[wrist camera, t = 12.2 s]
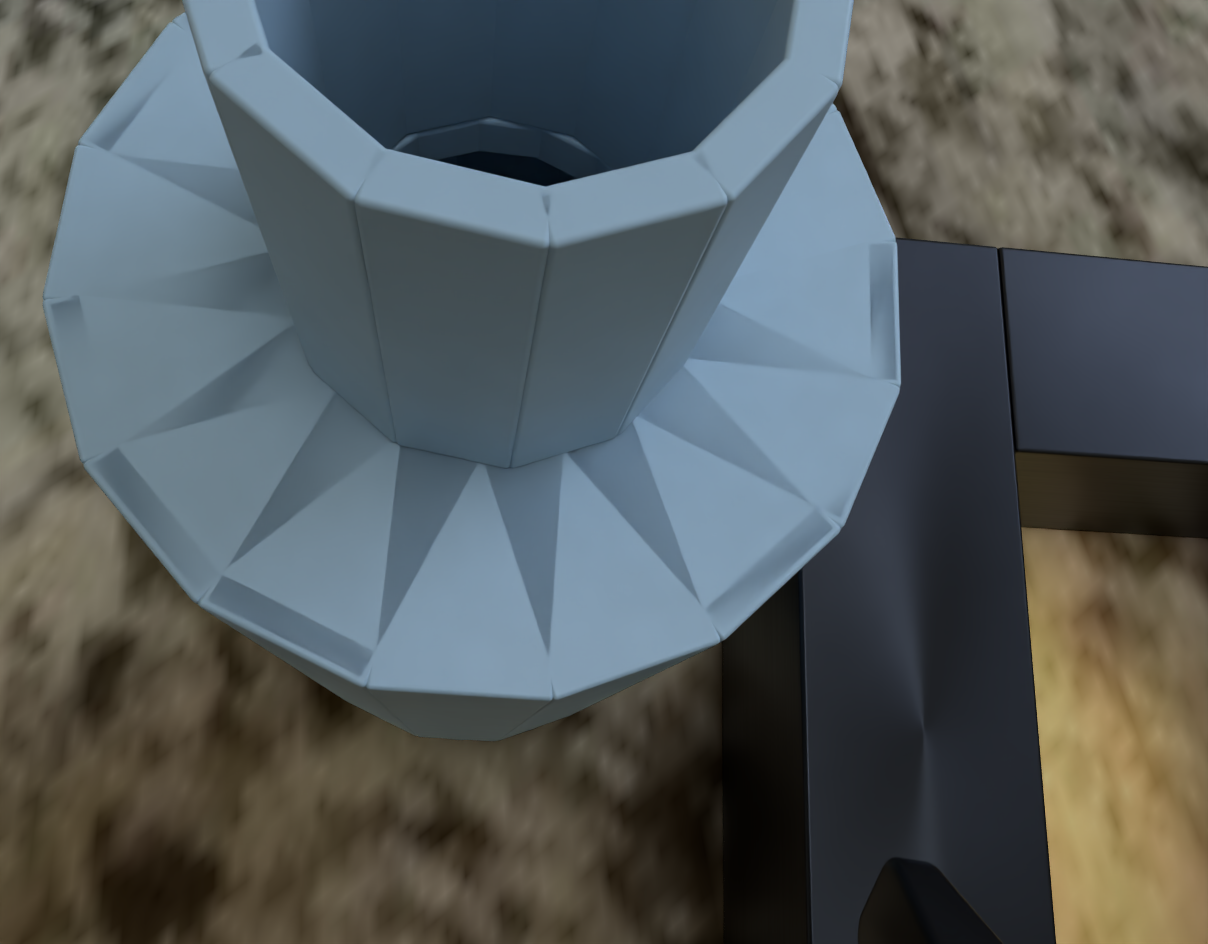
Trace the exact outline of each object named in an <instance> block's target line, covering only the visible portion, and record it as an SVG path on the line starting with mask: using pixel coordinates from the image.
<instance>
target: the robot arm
mask: <svg viewBox="0 0 1208 944" xmlns="http://www.w3.org/2000/svg"><path fill="white" fill-rule="evenodd" d="M858 944H1003V943H1002V941H1001V940H1000V939H999V938H998V937H997V936H996V934H995V933H994V932H993V931H992V930H991V929H990V927H989V926H988V925H987V924H986V923H985V922H984V921H983V919H982V918H981V917H980V916H979V915H978V914H977V912H976V911H975V910H974V909H973V908H972V907H971V905H970V904H969V903H968V902H967V901H966V900H965V898H964V897H963V896H962V895H961V894H960V893H959V891H958V890H957V889H956V888H955V887H954V886H953V885H952V883H951V882H950V881H949V880H948V879H947V878H946V876H945V875H944V874H943V873H942V872H941V871H940V870H939V869H938V868H937V867H936V866H935V865H933V864H932V863H930V862H927V861H921V860H914V859H908V858H901V857H892V858H890V859H889V860H887V861H886V862H885V864H884V865H883V867H882V869H881V871H880V873H879V876H878V878H877V880H876V882H875V884H874V886H873V888H872V891H871V893H870V895H869V897H868V899H867V901H866V903H865V906H864V908H863V910H862V913H861V915H860V919H859V925H858Z"/></svg>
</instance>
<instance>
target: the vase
mask: <svg viewBox="0 0 1208 944" xmlns="http://www.w3.org/2000/svg"><path fill="white" fill-rule="evenodd" d="M182 2H183V5H184V9H185V12H184V13H183V14H181V15H179V16H178V17H176V18H174V19H173V21H172V23H169V24H168V25H167V26H166V27H165V29H164V30H163V31H162V32H161V34H160V35H159V36H158V38H157V39H156V40H155V42H154V43H153V44H152V46H151V47H150V48H149V49H148V51H147V52H146V53H145V55H144V56H143V57H142V59H141V60H140V61H139V63H138V64H137V65H136V66H135V68H134V69H133V70H132V72H131V73H130V74H129V76H128V77H127V78H126V80H125V81H124V82H123V83H122V85H121V86H120V87H119V89H118V90H117V91H116V93H115V94H114V95H113V97H112V98H111V99H110V100H109V102H108V103H107V104H106V106H105V107H104V108H103V110H102V111H101V112H100V114H99V115H98V116H97V117H96V119H95V120H94V121H93V123H92V124H91V125H90V127H89V128H88V129H87V131H86V132H85V133H84V134H83V136H82V137H81V138H80V140H79V142H78V145H79V146H76V148H75V152H74V157H73V161H72V166H71V170H70V175H69V179H68V184H67V188H66V193H65V197H64V202H63V206H62V211H61V215H60V220H59V224H58V229H57V233H56V238H55V242H54V247H53V251H52V256H51V260H50V265H49V269H48V274H47V278H46V283H45V287H44V292H43V300H44V301H43V309H44V313H45V318H46V322H47V326H48V330H49V334H50V338H51V342H52V346H53V350H54V355H55V359H56V363H57V367H58V371H59V375H60V379H61V383H62V387H63V392H64V396H65V400H66V404H67V408H68V412H69V416H70V420H71V425H72V429H73V433H74V437H75V441H76V445H77V449H78V453H79V457H80V461H81V462H82V463H83V464H84V469H85V470H86V471H87V472H88V474H89V475H90V476H91V477H92V479H93V480H94V481H95V482H96V484H97V485H98V486H99V487H100V488H101V490H102V491H103V492H104V493H105V495H106V496H107V497H108V498H109V499H110V501H111V502H112V503H113V504H114V506H115V507H116V508H117V509H118V510H119V512H120V513H121V514H122V515H123V517H124V518H125V519H126V520H127V521H128V523H129V524H130V525H131V526H132V528H133V529H134V530H135V531H136V532H137V534H138V535H139V536H140V537H141V539H142V540H143V541H144V542H145V544H146V545H147V546H148V547H149V548H150V550H151V551H152V552H153V553H154V555H155V556H156V557H157V558H158V559H159V561H160V562H161V563H162V564H163V566H164V567H165V568H166V569H167V570H168V572H169V573H170V574H171V575H172V577H173V578H174V579H175V580H176V581H177V583H178V584H179V585H180V586H181V588H182V589H183V590H184V591H185V592H186V594H187V595H188V596H189V597H190V599H191V600H192V601H193V602H195V603H196V604H198V605H199V606H200V607H201V608H202V609H204V610H205V611H207V612H209V613H210V614H212V615H213V616H215V617H216V618H218V619H219V620H221V621H223V622H224V623H226V624H227V625H229V626H230V627H232V628H233V629H235V630H237V631H238V632H240V633H241V634H243V635H244V636H246V637H247V638H249V639H250V640H252V641H254V642H255V643H257V644H258V645H260V646H261V647H263V648H264V649H266V650H268V651H269V652H271V653H272V654H274V655H275V656H277V657H278V658H280V659H282V660H283V661H285V662H286V663H288V664H289V665H291V666H292V667H294V668H296V669H297V670H299V671H300V672H302V673H303V674H305V675H306V676H308V677H310V678H311V679H313V680H314V681H316V682H317V683H319V684H320V685H322V686H324V687H325V688H327V689H328V690H330V691H331V692H333V693H334V694H336V695H338V696H339V697H341V698H342V699H344V700H345V701H347V702H349V703H351V704H353V705H355V706H357V707H359V708H361V709H363V710H365V711H367V712H369V713H371V714H373V715H375V716H377V717H379V718H380V719H382V720H384V721H386V722H389V723H391V724H393V725H395V726H397V727H399V728H401V729H403V730H405V731H407V732H409V733H411V734H413V735H415V736H419V737H430V738H446V739H454V740H481V741H497V740H498V741H500V740H503V739H506V738H508V737H511V736H514V735H517V734H520V733H522V732H525V731H528V730H532V729H534V728H537V727H539V726H542V725H545V724H548V723H551V722H553V721H556V720H559V719H562V718H565V717H567V716H570V715H572V714H574V713H576V712H578V711H581V710H583V709H585V708H587V707H589V706H591V705H593V704H595V703H597V702H599V701H601V700H603V699H605V698H607V697H609V696H612V695H614V694H616V693H618V692H620V691H622V690H624V689H626V688H628V687H630V686H632V685H634V684H636V683H638V682H641V681H643V680H645V679H647V678H649V677H651V676H653V675H655V674H657V673H659V672H661V671H663V670H665V669H667V668H669V667H672V666H674V665H676V664H678V663H680V662H682V661H684V660H686V659H688V658H690V657H692V656H694V655H696V654H698V653H701V652H703V651H705V650H707V649H709V648H711V647H713V646H715V645H717V644H718V643H719V642H721V641H723V640H725V639H726V638H728V637H729V636H730V635H731V634H732V633H733V632H734V631H735V630H736V629H737V628H738V627H739V626H740V625H741V624H743V623H744V622H745V621H746V620H747V619H748V618H749V617H750V616H751V615H752V614H753V613H754V612H755V611H756V610H757V609H759V608H760V607H761V606H762V605H763V604H764V603H765V602H766V601H767V600H768V599H769V598H770V597H771V596H772V595H774V594H775V593H776V592H777V591H778V590H779V589H780V588H781V587H782V586H783V585H784V584H785V583H786V582H787V581H788V580H790V579H791V578H792V577H793V576H794V575H795V574H796V573H797V572H798V571H799V570H800V569H801V568H802V567H803V566H805V565H806V564H807V563H808V562H809V561H810V560H811V559H812V558H813V557H814V556H815V555H816V554H817V553H818V552H819V551H821V550H822V549H823V548H824V547H825V546H826V545H827V544H828V543H829V542H830V541H831V540H832V539H833V538H834V537H836V536H837V535H838V534H839V532H840V530H841V528H842V527H843V526H844V525H845V523H846V520H847V518H848V516H849V513H850V511H851V508H852V506H853V503H854V501H855V499H856V496H857V494H858V491H859V489H860V487H861V484H862V482H863V479H864V477H865V474H866V472H867V470H868V467H869V465H870V462H871V460H872V458H873V455H874V453H875V450H876V448H877V445H878V443H879V441H880V438H881V436H882V433H883V431H884V429H885V426H886V424H887V421H888V419H889V416H890V414H891V412H892V409H893V407H894V404H895V402H896V400H897V397H898V395H899V391H900V388H899V387H900V385H901V366H900V329H899V293H898V256H897V243H896V242H895V241H896V238H895V235H894V233H893V231H892V228H891V226H890V224H889V222H888V219H887V217H886V215H885V213H884V211H883V208H882V206H881V204H880V202H879V199H878V197H877V195H876V193H875V190H874V188H873V186H872V184H871V181H870V179H869V177H868V175H867V172H866V170H865V168H864V166H863V163H862V161H861V159H860V157H859V154H858V152H857V150H856V148H855V146H854V143H853V141H852V139H851V137H850V134H849V132H848V130H847V128H846V125H845V123H844V121H843V119H842V116H841V114H840V112H839V111H836V110H837V109H836V106H835V105H834V104H833V101H834V99H835V98H836V96H837V93H838V91H839V89H840V87H841V85H842V82H843V75H844V68H845V60H846V53H847V46H848V39H849V32H850V25H851V17H852V10H853V3H854V0H182Z"/></svg>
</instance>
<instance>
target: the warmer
mask: <svg viewBox="0 0 1208 944" xmlns="http://www.w3.org/2000/svg"><path fill="white" fill-rule="evenodd" d="M895 242H896V243H897V256H898V293H899V329H900V366H901V385H900V387H899V388H900V391H899V395H898V397H897V400H896V402H895V404H894V407H893V409H892V412H891V414H890V416H889V419H888V421H887V424H886V426H885V429H884V431H883V433H882V436H881V438H880V441H879V443H878V445H877V448H876V450H875V453H874V455H873V458H872V460H871V462H870V465H869V467H868V470H867V472H866V474H865V477H864V479H863V482H862V484H861V487H860V489H859V491H858V494H857V496H856V499H855V501H854V503H853V506H852V508H851V511H850V513H849V516H848V518H847V520H846V523H845V525H844V526H843V527H842V528H841V530H840V532H839V534H838V535H837V536H836V537H834V538H833V539H832V540H831V541H830V542H829V543H828V544H827V545H826V546H825V547H824V548H823V549H822V550H821V551H819V552H818V553H817V554H816V555H815V556H814V557H813V558H812V559H811V560H810V561H809V562H808V563H807V564H806V565H805V566H803V567H802V568H801V569H800V570H799V571H798V572H797V573H796V574H795V575H794V576H793V577H792V578H791V579H790V580H788V581H787V582H786V583H785V584H784V585H783V586H782V587H781V588H780V589H779V590H778V591H777V592H776V593H775V594H774V595H772V596H771V597H770V598H769V599H768V600H767V601H766V602H765V603H764V604H763V605H762V606H761V607H760V608H759V609H757V610H756V611H755V612H754V613H753V614H752V615H751V616H750V617H749V618H748V619H747V620H746V621H745V622H744V623H743V624H741V625H740V626H739V627H738V628H737V629H736V630H735V631H734V632H733V633H732V634H731V635H730V636H729V637H728V638H726V639H725V640H723V884H724V944H858V925H859V919H860V915H861V913H862V910H863V908H864V906H865V903H866V901H867V899H868V897H869V895H870V893H871V891H872V888H873V886H874V884H875V882H876V880H877V878H878V876H879V873H880V871H881V869H882V867H883V865H884V864H885V862H886V861H887V860H889V859H890V858H892V857H901V858H908V859H914V860H921V861H927V862H930V863H932V864H933V865H935V866H936V867H937V868H938V869H939V870H940V871H941V872H942V873H943V874H944V875H945V876H946V878H947V879H948V880H949V881H950V882H951V883H952V885H953V886H954V887H955V888H956V889H957V890H958V891H959V893H960V894H961V895H962V896H963V897H964V898H965V900H966V901H967V902H968V903H969V904H970V905H971V907H972V908H973V909H974V910H975V911H976V912H977V914H978V915H979V916H980V917H981V918H982V919H983V921H984V922H985V923H986V924H987V925H988V926H989V927H990V929H991V930H992V931H993V932H994V933H995V934H996V936H997V937H998V938H999V939H1000V940H1001V941H1002V943H1003V944H1056V936H1055V924H1054V912H1053V901H1052V889H1051V877H1050V865H1049V853H1048V841H1047V829H1046V817H1045V805H1044V793H1043V781H1042V769H1041V757H1040V746H1039V734H1038V722H1037V710H1036V698H1035V686H1034V674H1033V662H1032V650H1031V638H1030V626H1029V614H1028V602H1027V591H1026V579H1025V567H1024V555H1023V543H1022V531H1021V527H1037V528H1053V529H1070V530H1086V531H1103V532H1119V533H1136V534H1152V535H1168V536H1185V537H1201V538H1208V267H1203V266H1193V265H1182V264H1172V263H1161V262H1151V261H1140V260H1130V259H1119V258H1109V257H1098V256H1087V255H1077V254H1066V253H1056V252H1045V251H1035V250H1024V249H1014V248H1003V247H1002V248H999V249H997V248H996V247H990V246H979V245H969V244H958V243H948V242H937V241H927V240H916V239H906V238H896V241H895Z"/></svg>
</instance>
